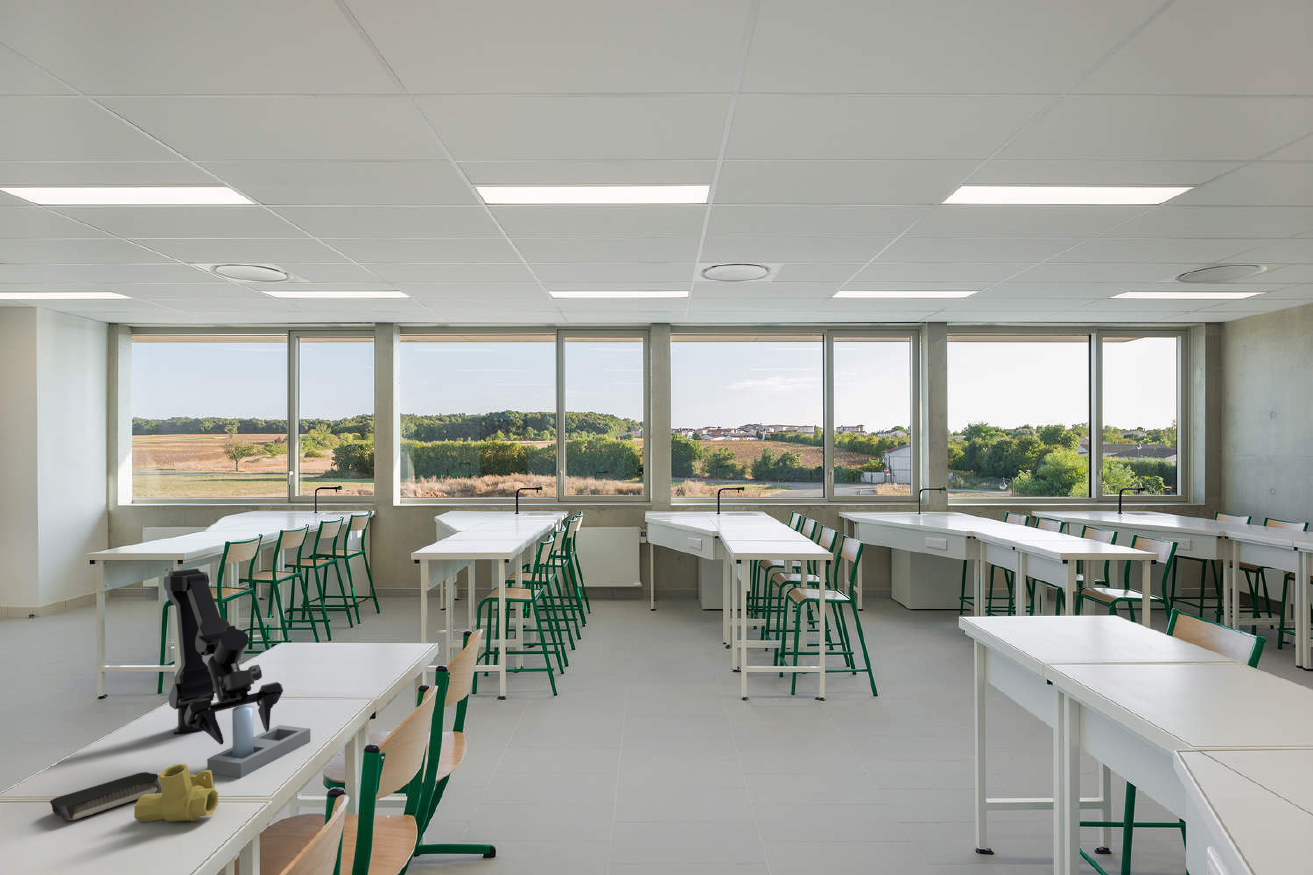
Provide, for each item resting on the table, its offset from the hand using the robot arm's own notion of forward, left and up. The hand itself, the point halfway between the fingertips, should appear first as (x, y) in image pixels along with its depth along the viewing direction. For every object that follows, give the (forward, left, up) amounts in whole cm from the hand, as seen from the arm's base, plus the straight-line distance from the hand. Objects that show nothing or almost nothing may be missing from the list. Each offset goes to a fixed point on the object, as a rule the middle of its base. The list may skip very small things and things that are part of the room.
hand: (245, 736), depth 162 cm
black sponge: (+9, -23, -7) cm, 25 cm away
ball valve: (+19, -7, -7) cm, 22 cm away
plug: (-1, -1, -7) cm, 7 cm away
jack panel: (-5, +2, -7) cm, 9 cm away
